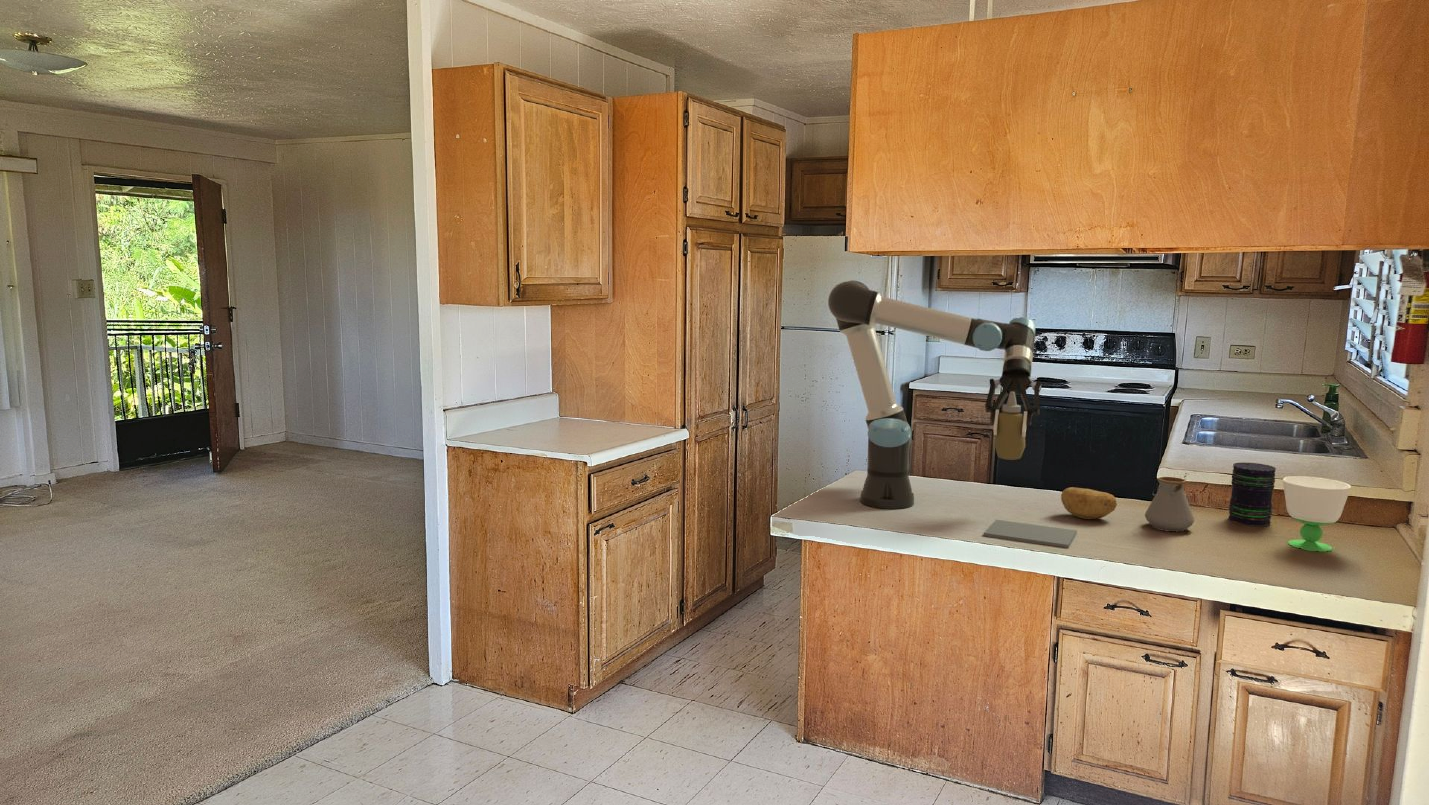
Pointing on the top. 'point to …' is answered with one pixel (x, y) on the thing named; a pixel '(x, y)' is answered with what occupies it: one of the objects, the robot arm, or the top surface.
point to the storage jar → (1252, 494)
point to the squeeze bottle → (1010, 431)
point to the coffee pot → (1170, 506)
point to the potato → (1088, 502)
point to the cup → (1314, 507)
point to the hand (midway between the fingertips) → (1009, 433)
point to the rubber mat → (1031, 533)
